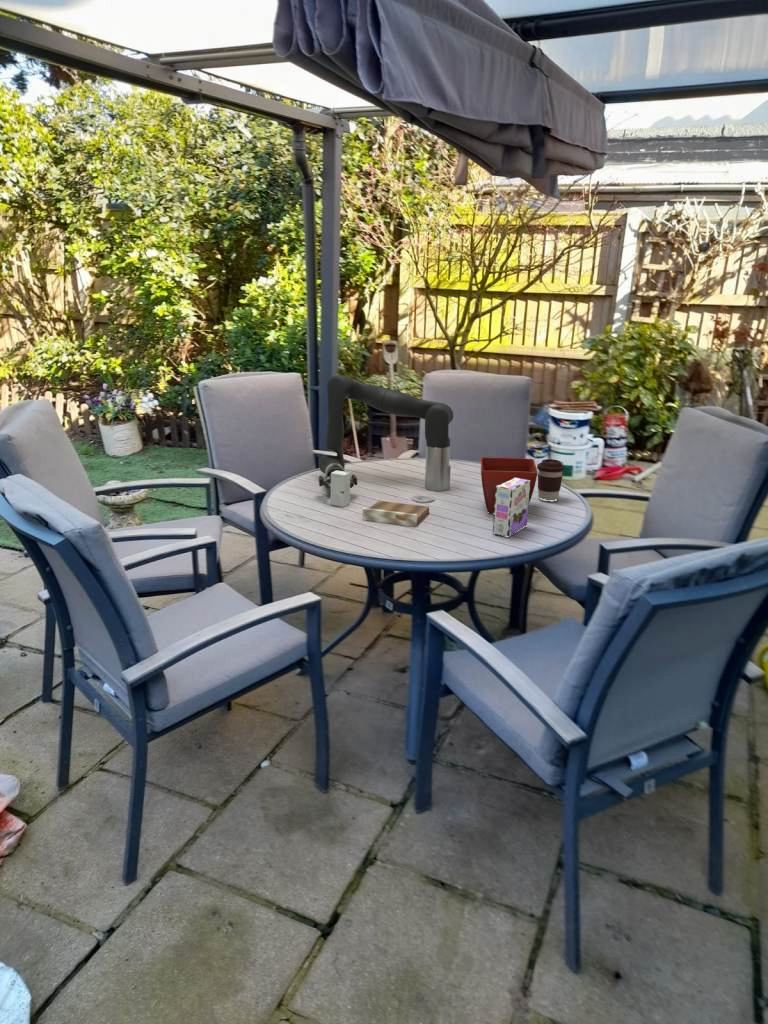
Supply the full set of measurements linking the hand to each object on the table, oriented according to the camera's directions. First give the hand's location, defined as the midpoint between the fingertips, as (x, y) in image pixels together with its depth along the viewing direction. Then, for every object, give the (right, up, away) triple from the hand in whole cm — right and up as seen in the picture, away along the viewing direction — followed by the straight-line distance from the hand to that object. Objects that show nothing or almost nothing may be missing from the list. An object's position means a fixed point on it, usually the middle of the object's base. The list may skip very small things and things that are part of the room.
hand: (339, 485), depth 245 cm
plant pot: (+60, -9, -4) cm, 61 cm away
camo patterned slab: (+21, -11, -12) cm, 26 cm away
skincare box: (0, -7, 0) cm, 7 cm away
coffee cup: (+78, -5, +8) cm, 79 cm away
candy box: (+58, -16, -25) cm, 65 cm away
